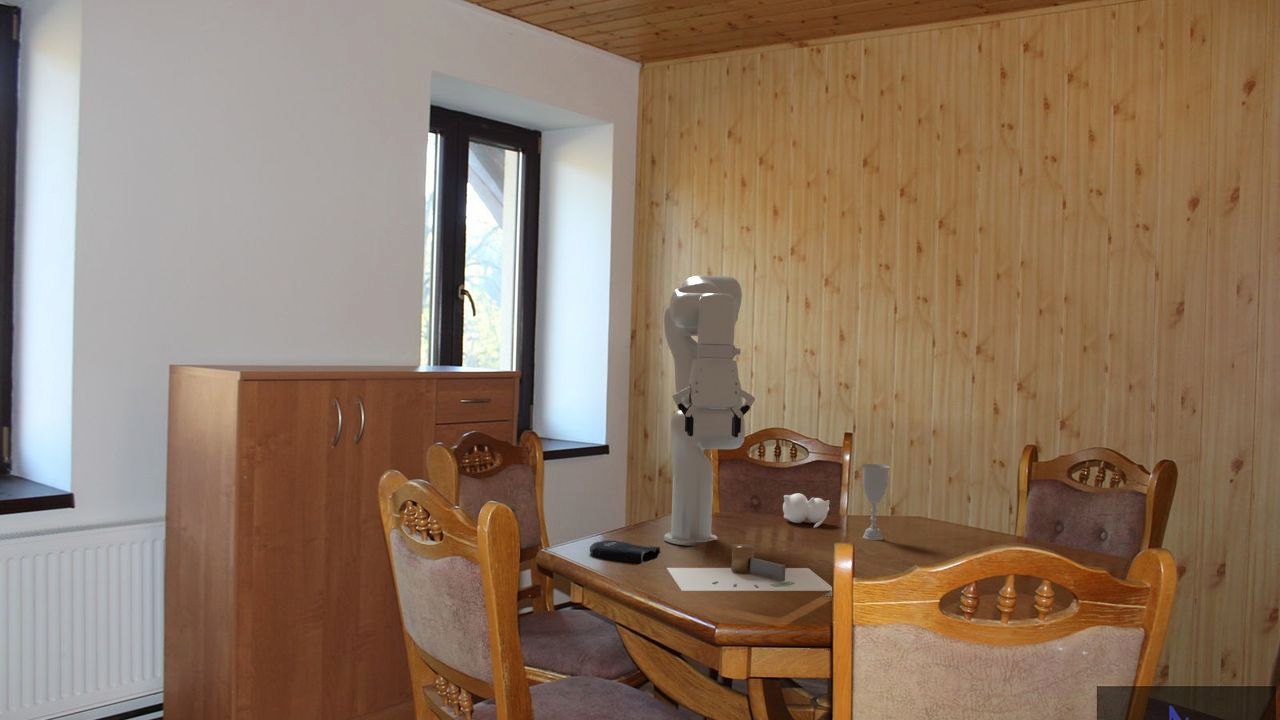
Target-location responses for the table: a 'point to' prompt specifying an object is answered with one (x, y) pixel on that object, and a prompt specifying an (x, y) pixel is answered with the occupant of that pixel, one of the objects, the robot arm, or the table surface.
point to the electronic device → (624, 551)
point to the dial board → (747, 580)
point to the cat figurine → (805, 509)
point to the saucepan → (754, 563)
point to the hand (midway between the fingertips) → (712, 436)
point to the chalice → (874, 493)
